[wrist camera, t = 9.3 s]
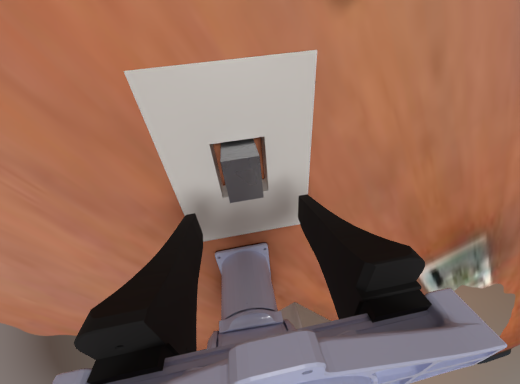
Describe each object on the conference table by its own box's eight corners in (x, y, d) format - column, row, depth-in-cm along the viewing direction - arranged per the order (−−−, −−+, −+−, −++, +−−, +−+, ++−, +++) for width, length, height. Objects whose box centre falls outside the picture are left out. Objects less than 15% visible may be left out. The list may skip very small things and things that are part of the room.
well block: (299, 210, 27) (305, 223, 25) (198, 228, 26) (196, 242, 24) (305, 51, 17) (317, 49, 14) (136, 69, 15) (123, 71, 13)
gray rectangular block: (254, 167, 22) (263, 197, 17) (228, 171, 22) (230, 203, 17) (250, 132, 20) (259, 155, 15) (221, 136, 20) (220, 161, 15)
